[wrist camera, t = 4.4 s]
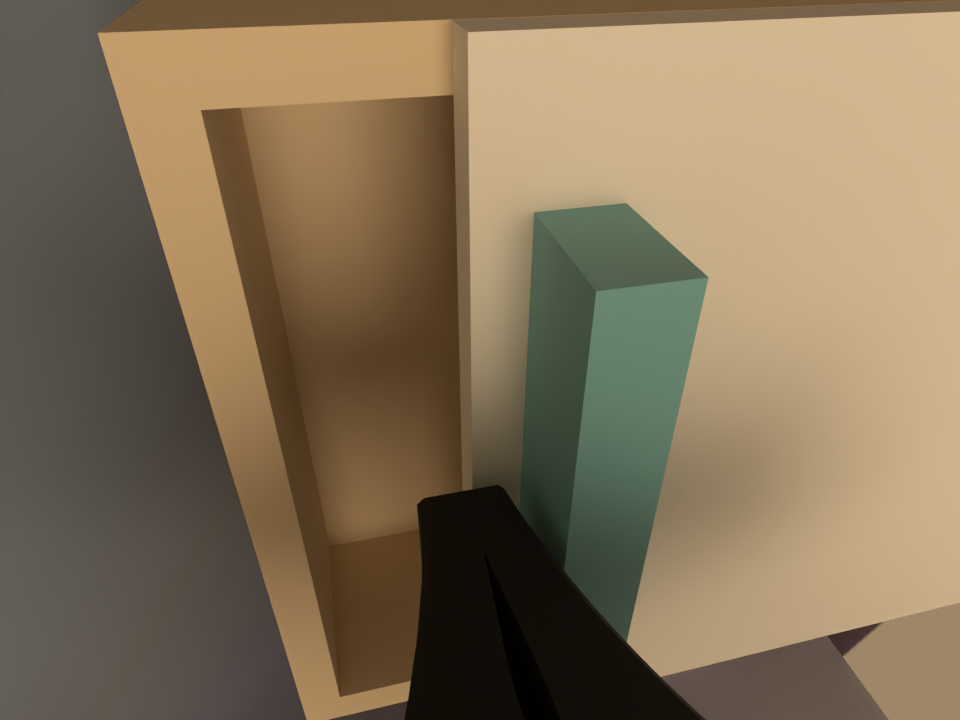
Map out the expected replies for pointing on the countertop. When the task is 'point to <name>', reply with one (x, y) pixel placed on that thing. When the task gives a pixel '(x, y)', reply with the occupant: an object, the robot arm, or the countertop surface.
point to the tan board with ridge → (718, 312)
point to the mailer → (323, 286)
